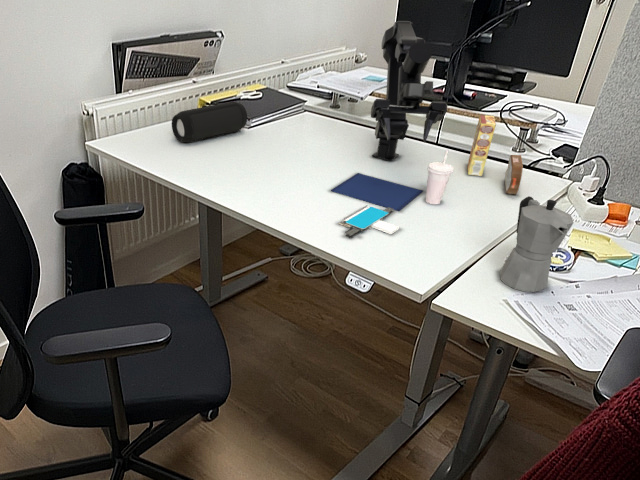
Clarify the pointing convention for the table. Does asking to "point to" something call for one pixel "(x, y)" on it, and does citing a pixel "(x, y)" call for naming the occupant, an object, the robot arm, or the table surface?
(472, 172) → the candy box
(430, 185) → the smoothie
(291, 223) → the table surface
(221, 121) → the portable speaker
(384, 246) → the table surface
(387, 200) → the cloth
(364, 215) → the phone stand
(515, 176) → the tin
